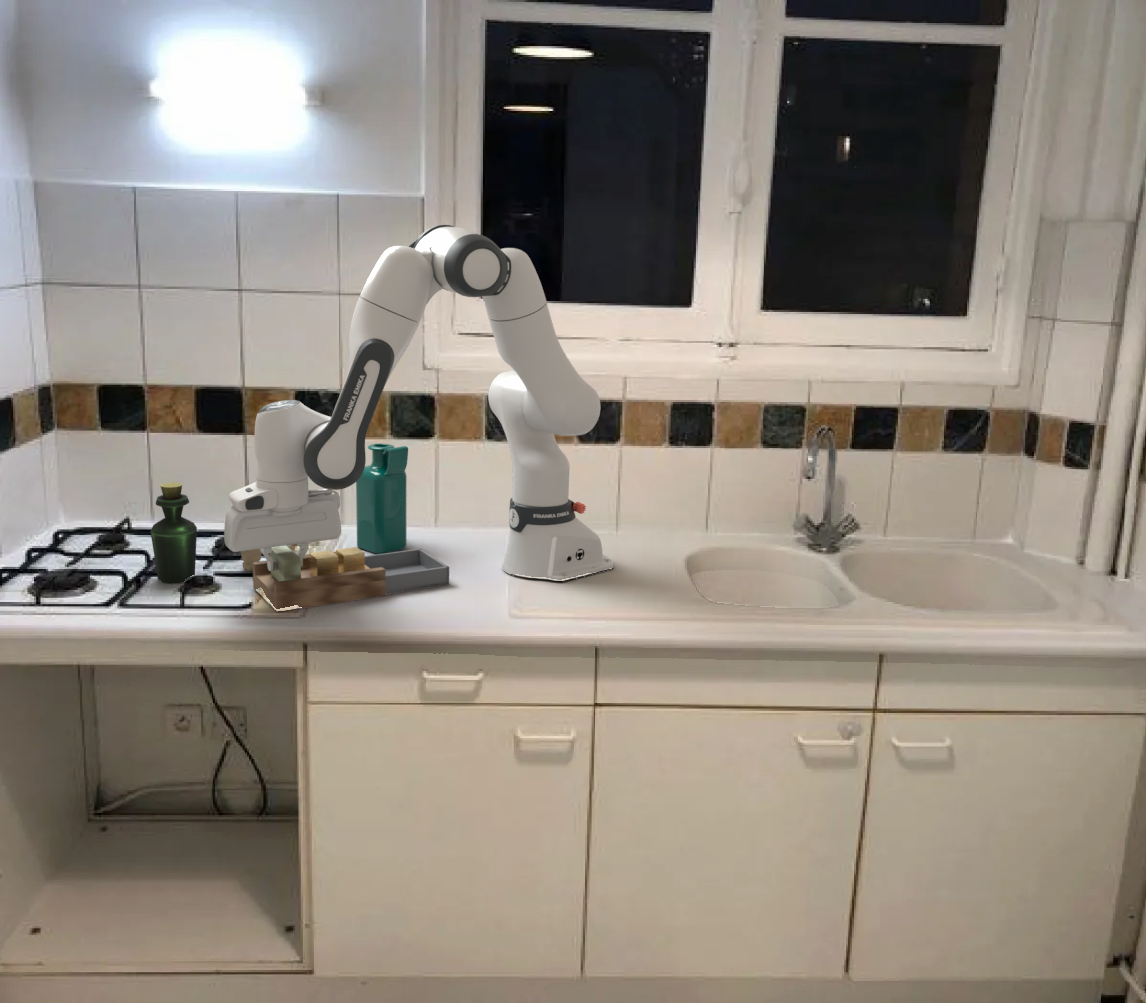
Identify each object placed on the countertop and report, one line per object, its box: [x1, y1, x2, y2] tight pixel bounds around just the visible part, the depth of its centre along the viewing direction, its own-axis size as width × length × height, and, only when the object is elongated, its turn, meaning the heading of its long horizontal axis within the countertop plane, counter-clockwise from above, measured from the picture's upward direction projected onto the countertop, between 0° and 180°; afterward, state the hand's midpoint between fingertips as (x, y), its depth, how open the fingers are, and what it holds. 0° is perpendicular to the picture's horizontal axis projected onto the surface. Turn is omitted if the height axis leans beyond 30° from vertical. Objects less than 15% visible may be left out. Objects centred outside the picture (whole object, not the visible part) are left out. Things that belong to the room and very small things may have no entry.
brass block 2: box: [335, 546, 366, 573], centre depth 201 cm, size 4×4×4 cm
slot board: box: [252, 551, 387, 609], centre depth 198 cm, size 20×14×5 cm
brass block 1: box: [309, 549, 339, 577], centre depth 198 cm, size 4×4×4 cm
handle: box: [240, 549, 262, 571], centre depth 208 cm, size 5×6×15 cm
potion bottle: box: [150, 481, 198, 585], centre depth 201 cm, size 8×8×18 cm
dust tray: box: [365, 548, 450, 595], centre depth 207 cm, size 13×13×4 cm
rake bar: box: [269, 545, 301, 582], centre depth 194 cm, size 3×8×5 cm, turn 32°
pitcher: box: [355, 442, 409, 555], centre depth 224 cm, size 10×8×22 cm
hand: (285, 568), depth 194 cm, fingers closed on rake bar, 3 cm apart
